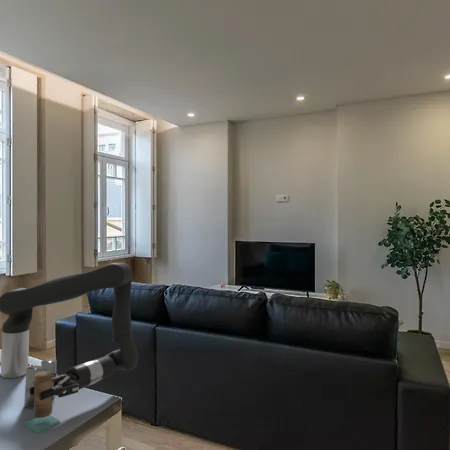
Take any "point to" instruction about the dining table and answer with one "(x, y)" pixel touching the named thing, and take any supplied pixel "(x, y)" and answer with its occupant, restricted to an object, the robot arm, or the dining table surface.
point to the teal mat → (41, 423)
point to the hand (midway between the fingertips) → (35, 393)
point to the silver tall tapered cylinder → (30, 384)
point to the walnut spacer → (41, 384)
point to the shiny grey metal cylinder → (49, 365)
